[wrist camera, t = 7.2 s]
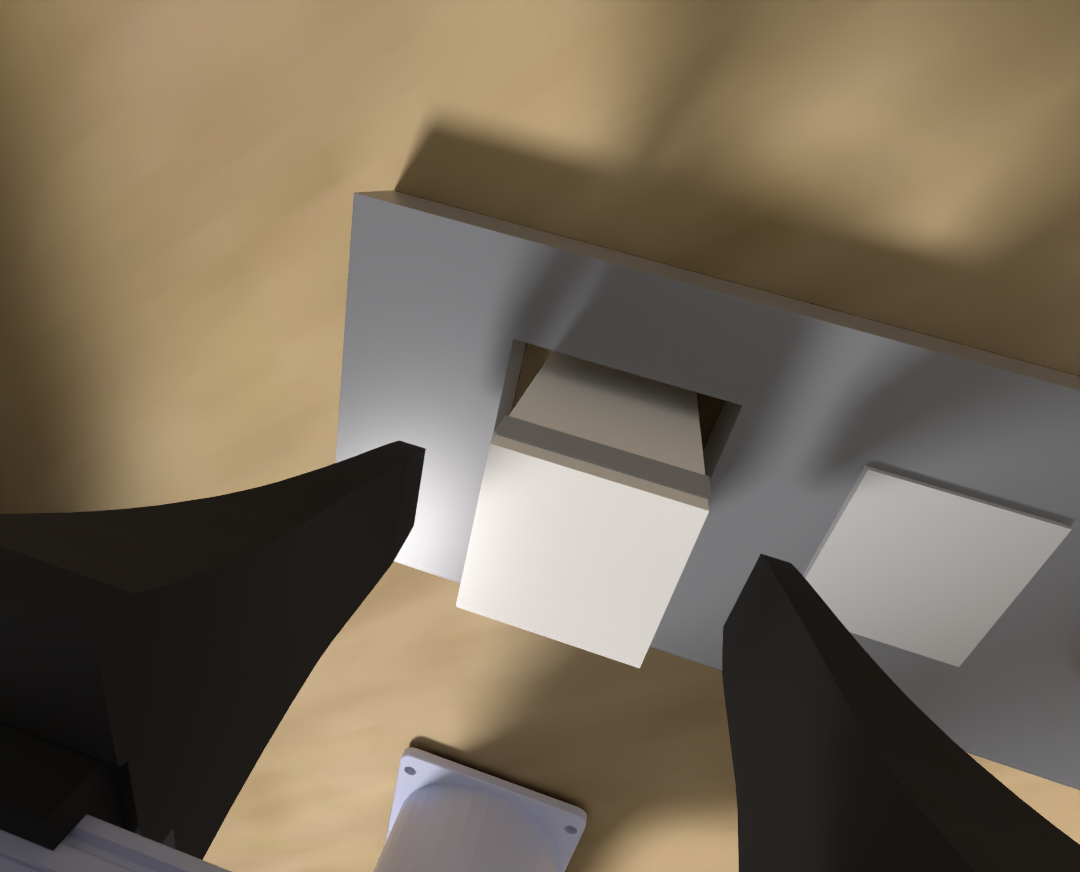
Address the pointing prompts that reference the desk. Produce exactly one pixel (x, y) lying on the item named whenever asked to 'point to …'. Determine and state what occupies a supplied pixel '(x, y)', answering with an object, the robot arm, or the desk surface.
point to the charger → (588, 508)
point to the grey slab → (757, 454)
